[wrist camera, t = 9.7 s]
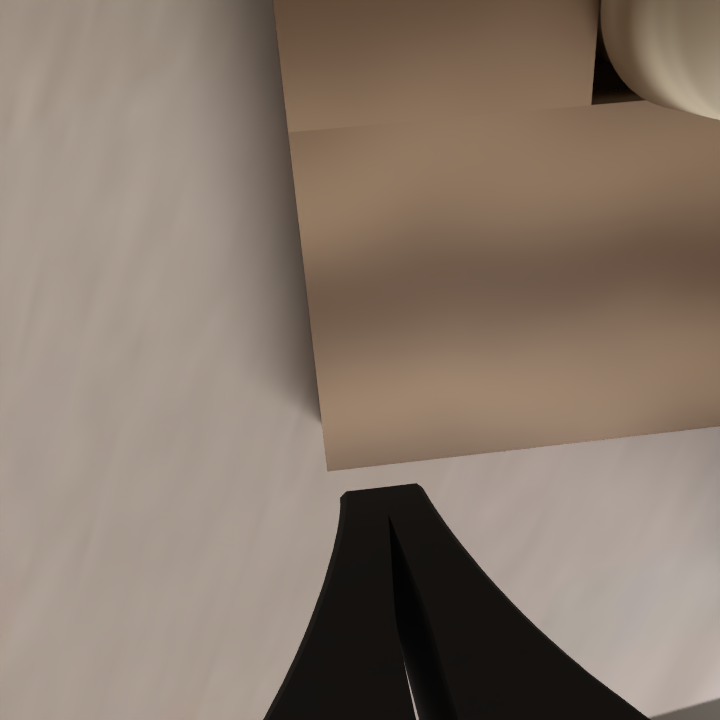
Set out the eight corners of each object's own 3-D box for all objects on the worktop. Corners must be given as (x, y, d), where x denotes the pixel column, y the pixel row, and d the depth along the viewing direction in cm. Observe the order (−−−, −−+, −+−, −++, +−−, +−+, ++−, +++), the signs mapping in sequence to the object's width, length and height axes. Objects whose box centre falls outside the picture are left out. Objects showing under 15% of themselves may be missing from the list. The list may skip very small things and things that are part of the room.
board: (732, 380, 23) (880, 502, 17) (323, 426, 22) (335, 568, 16) (909, -470, 14) (1353, -820, 8) (224, -438, 13) (172, -796, 7)
